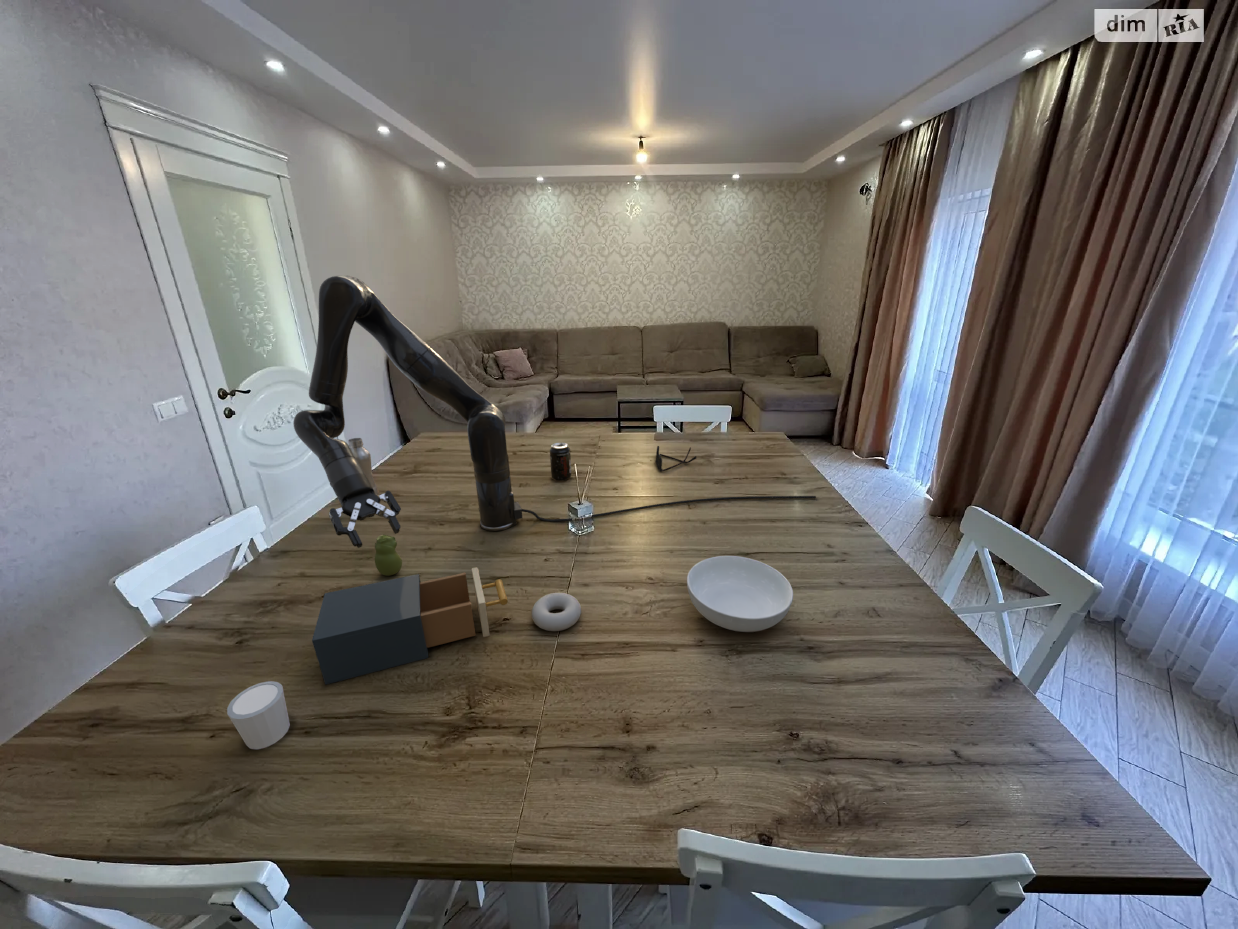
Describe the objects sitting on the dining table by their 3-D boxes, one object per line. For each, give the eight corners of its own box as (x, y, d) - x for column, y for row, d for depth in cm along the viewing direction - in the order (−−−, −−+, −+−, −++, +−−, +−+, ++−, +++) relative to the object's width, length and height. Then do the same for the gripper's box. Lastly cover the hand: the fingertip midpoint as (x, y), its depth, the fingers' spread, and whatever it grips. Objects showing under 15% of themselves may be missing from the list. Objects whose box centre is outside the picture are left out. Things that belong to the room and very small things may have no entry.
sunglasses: (697, 472, 169) (698, 459, 167) (656, 472, 169) (656, 459, 167) (691, 455, 184) (692, 443, 182) (654, 455, 184) (654, 443, 182)
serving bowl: (729, 662, 87) (732, 631, 84) (666, 597, 104) (667, 570, 102) (812, 625, 96) (817, 596, 93) (741, 571, 113) (744, 546, 110)
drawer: (502, 593, 104) (498, 562, 102) (512, 629, 94) (508, 596, 91) (403, 616, 98) (396, 584, 95) (402, 658, 87) (394, 623, 84)
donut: (569, 640, 92) (589, 607, 101) (568, 626, 91) (588, 594, 100) (523, 629, 96) (546, 598, 104) (521, 615, 94) (545, 584, 103)
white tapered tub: (258, 715, 77) (245, 682, 74) (303, 712, 78) (292, 679, 75) (230, 755, 71) (214, 720, 68) (279, 751, 71) (266, 716, 69)
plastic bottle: (371, 506, 146) (357, 444, 138) (351, 504, 147) (337, 442, 140) (385, 497, 152) (372, 437, 144) (366, 495, 153) (352, 435, 146)
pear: (373, 577, 112) (364, 539, 108) (391, 564, 116) (383, 528, 113) (391, 582, 110) (383, 544, 106) (409, 569, 115) (401, 533, 111)
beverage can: (575, 477, 166) (574, 444, 161) (563, 484, 160) (561, 450, 156) (560, 473, 169) (558, 440, 165) (547, 479, 164) (545, 446, 159)
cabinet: (426, 612, 100) (418, 573, 96) (428, 658, 88) (419, 615, 85) (336, 633, 94) (324, 593, 91) (325, 685, 83) (311, 640, 79)
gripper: (317, 482, 107) (349, 545, 104) (381, 464, 117) (412, 521, 114) (314, 497, 112) (345, 557, 109) (376, 479, 122) (405, 533, 119)
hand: (379, 539), depth 112 cm, fingers open, 8 cm apart
